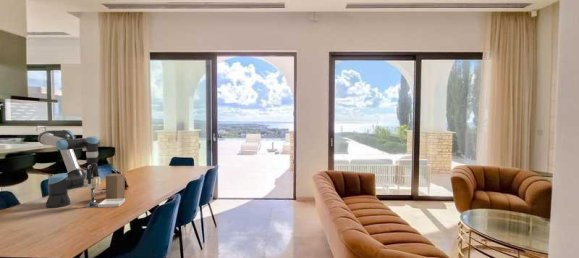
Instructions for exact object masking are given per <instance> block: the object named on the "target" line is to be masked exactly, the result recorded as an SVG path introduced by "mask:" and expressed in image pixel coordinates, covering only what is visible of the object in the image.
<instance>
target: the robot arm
mask: <svg viewBox="0 0 579 258" xmlns="http://www.w3.org/2000/svg"><path fill="white" fill-rule="evenodd" d="M37 139H38V142H39V143H40V144H41V145H44V146H52V147H55V148H56V149H57V150H58V151H59V152H60V154H61V156H62V159H63V162H64V165H65V167H66V170H67V173H65V172H64V173H57V174H53V175H51V176H49V177H48V183H47V185H48V187H47V189H48V197H47V200H46V202H45V207H46V208H49V209H52V208H53V209H55V208H62V207H66V206H69V205H70V204H71V203H72V201H71V198H70V197H69V194H68V193H69V192H68V191H70V190H75V189H81V188H85V187H84V183H83V179H86V180H88V187H87V188H88V189H91V188H93V187H92V177H99V168H98V166H99V165H98V164H99V163H98V162H99V138H98V137H97V136H87V137H82V138H75V135H74V134H73V131H72V130H67V129H62V130H60V129H59V130H45V131H43V132H41V133H40V134H39V135H38V138H37ZM80 149H81V150H82V149H85V151H86V152H85V155H86V163H88V165H87V166H86V171H84V168H81V167H80V163H79V162H78V158H77V156H76V153H75V151H74V150H80Z"/></svg>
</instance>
